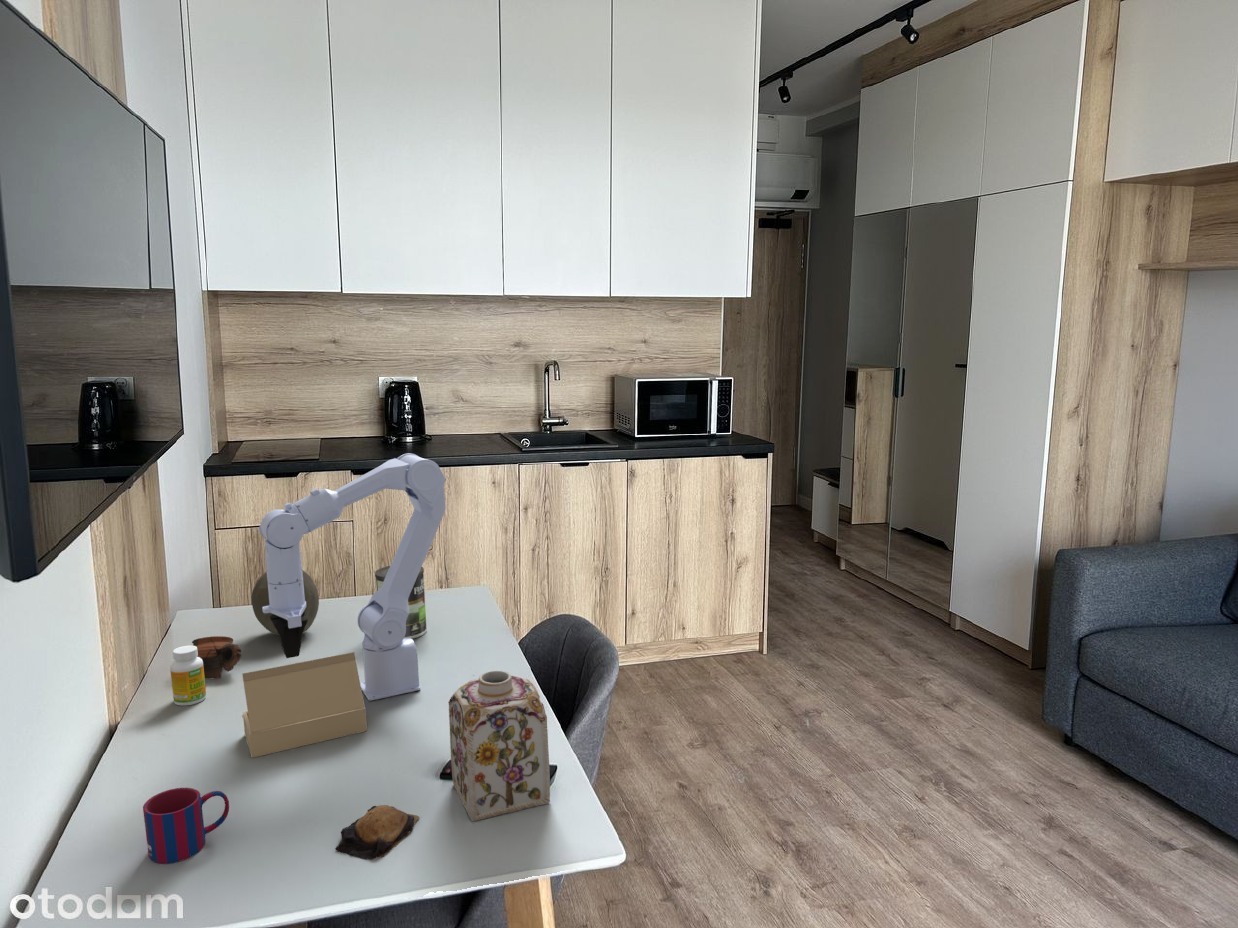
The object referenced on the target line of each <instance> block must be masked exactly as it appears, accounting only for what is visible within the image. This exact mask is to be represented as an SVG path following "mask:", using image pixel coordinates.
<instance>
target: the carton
mask: <svg viewBox="0 0 1238 928" xmlns="http://www.w3.org/2000/svg"><path fill="white" fill-rule="evenodd" d="M242 718H243V728H244V737H245V740H246V743H247V746H248V750H249V753H250V756H251V759H253V758H257V757H261V756H265V755H270V754H275V753H278V752H282V751H287V750H291V749H295V748H299V747H303V746H309V745H312V744H316V743H320V742H325V741H329V740H334V739H339V738H343V737H347V736H350V735H355V734H358V733H364V732H367V731H368V725H367V709H366V707H365V708H362V709H357V710H353V711H348V712H344V713H339V714H335V715H330V716H326V717H322V718H317V719H313V720H308V721H304V722H299V723H295V724H290V725H286V726H281V727H277V728H272V729H268V730H263V731H259V732H254V733H251V730H250V724H249V717H248V710H247V711H243V712H242Z"/></svg>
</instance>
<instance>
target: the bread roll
mask: <svg viewBox="0 0 1238 928" xmlns="http://www.w3.org/2000/svg"><path fill="white" fill-rule="evenodd" d="M419 820H420V816H419V815H416V814H413V813H412V814H410V813H407V812H405V811H402V810H401V809H399V808H396V807H394V806H391V805H387V804H383V805H373V806H371V807H370V808H369V809H367V812H366V813H365V814H364V815H363V816H361V817H359V818H358V819H356V820H355V821H354V822H352V823H351V824H350V825H348V826H346V827H344V828H342V829H341V831H340V834H341V836H340V837H341V840H340V841H339V842H338V845H337V846H336V847H335V848H334V850H335V851H336V852H337V853H340V854H346V855H349V856H352V857H356V858H358V859H362V860H374V859H378V858H384V857H385V855H388V853H390V852H391V851H392V850H394V848H395V847H397V846H398V845H399V843H400V842H401V841H402V840H403V839H404V838H405V837H407V836H408V835H409V834H410V832H412V831H413V828H414V827H415V824H417V822H418V821H419Z"/></svg>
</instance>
